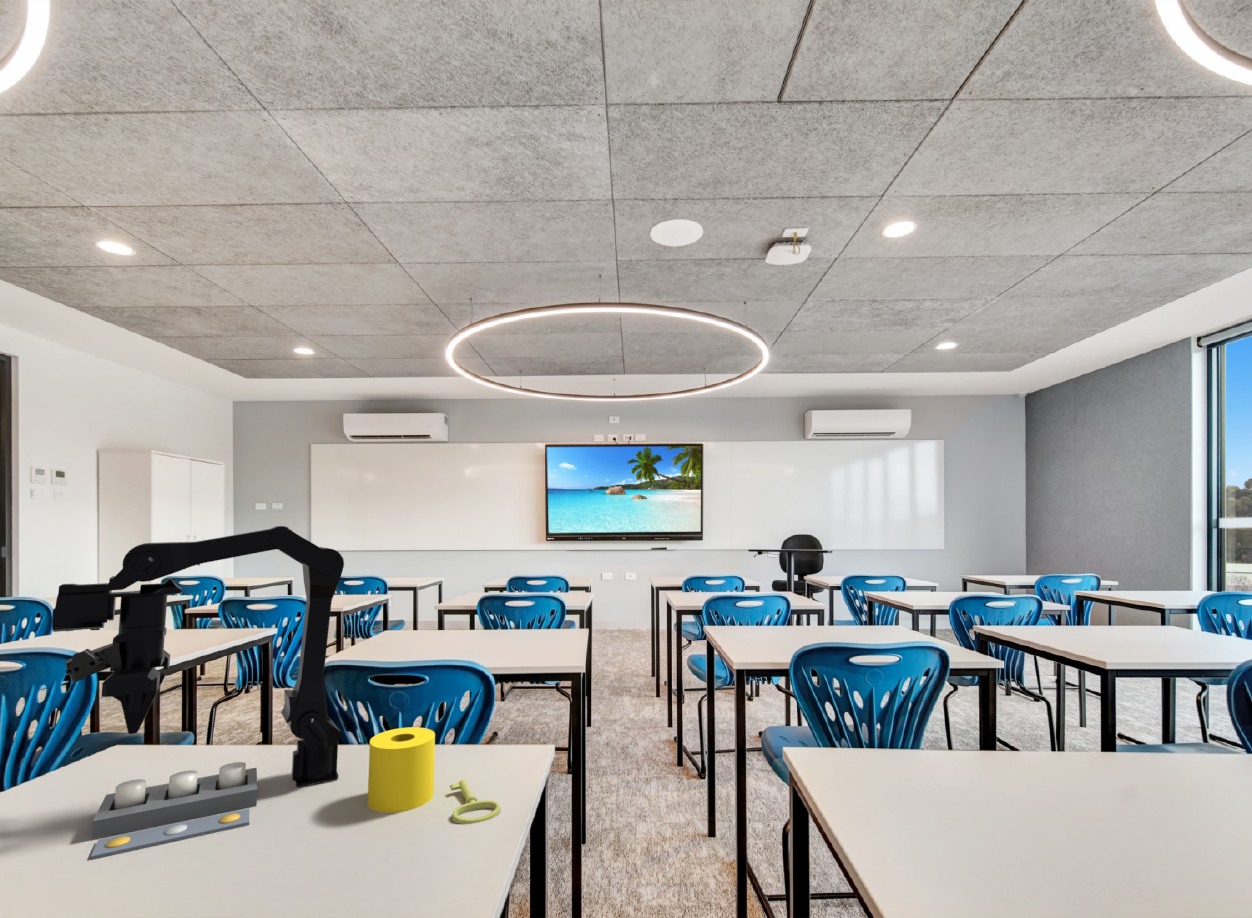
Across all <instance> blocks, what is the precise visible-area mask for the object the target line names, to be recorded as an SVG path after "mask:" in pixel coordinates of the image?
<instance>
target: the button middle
mask: <svg viewBox="0 0 1252 918" xmlns="http://www.w3.org/2000/svg"><path fill="white" fill-rule="evenodd" d="M198 773H199V772H198V771H197V770H183V771H179V772H176V773H173V774H172V775H170V776H169V781H168V783H169V792H168V799H174V798H180V797H185V796H190V795H195V794H196V791H197V778H198Z"/></svg>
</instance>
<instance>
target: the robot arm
mask: <svg viewBox="0 0 1252 918" xmlns="http://www.w3.org/2000/svg"><path fill="white" fill-rule="evenodd" d="M275 550H278V551H279V552H281V553H283V554H284V555H286V556H288V557H290V558H291V559H292V560H294V561H295V562H297V563H299V564H300V565H302V574H303V575H302V577H303V585H304V589H305V590H304V592H305V599H306V601H305V611H304V619H303V627H302V638H301V645H300V646H301V647H300V653H299V654H300V656H299V665H298V673H297V679H296V682H295V684H294V687H293V688H292V689H284V690H283V692H284V693H283V694H284V695H283V697H284V705H283V708H282V710H281V711H280V714H281V715H282V717H283V719H284V721H285V722H286V724H287V726H288V728H289V730H290V731H291V733H292V734H293V736H294V737H295V738H298V739H299V740H297V741H296V750H293V751H292V761H291V779H292V781H293V782H295V787H296V788H301V787H306V786H309V785H314V784H321V783H326V782H330V781H336V780H338V779H339V776H340V775H339V773H338V754H339V739H340V737H341V734H342V732H341V730H340V729H339V728H338V726H337V725H336V724H335V722H334V721H333V719H331V718H330V717H329V715H328V706H327V697H326V696H327V694H326V691H325V685H324V677H325V668H326V667H325V665H326V658H327V648H328V639H329V629H330V622H331V621H330V619H331V613H332V612H331V610H332V601H333V598H334V597H335V596H334V595H335V593H336V591H337V589H338V586H339V585H340V580H341V576H342V573H343V571H344V566H345V562H344V561H345V560H344V557H343V556H342V554H341V553H340V552H339V551H338V550H335V549H333V548H328V547H323V546H322V547H321V546H318V545H317V544H315V543H313V542H311V541H310V540H308V539H306V538H305V537H302V536H301V535H299V534H297V533H296V532H294V531H293V530H292V529H291V528H290V527H288V526H285V525H284V526H283V525H277V526H274V527H272V528H267V529H262V530H255V531H249V532H244V533H238V534H232V535H226V536H222V537H216V538H210V539H202V540H198V541H183V542H182V541H176V542H175V541H174V542H173V541H170V542H169V541H168V542H167V541H166V542H145V543H141V544H138V545H136V546H134V547H132V548H131V549H129V550H128V552H127V553H126V554H124V555H125V556H124V557H123V560H122V569H121V570H120V571H119V572H118V573H117V574H116V575H115V576H113V575H111V577H109V582H108V583H106V582H105V583H86V584H85V583H84V584H82V583H81V584H78V583H62V584H61V585H59V586H58V593H57V597H56V601H55V607H54V608H53V609H52V619H51V621H52V622H51V625H52V627H51V628H52V632H53V633H57V632H71V631H82V630H83V631H85V630H94V629H96V630H97V629H104V628H105V624H107V623H108V621H109V622H110V621H114V620H115V614H116V604H117V603H116V602H117V598H120V606H119V619H118V620H119V622H118V633H117V634H116V635H115V636H113V638H112V643H109V644H105V645H102V646H100V647H97V648H95V649H92V650H91V649H90V648H86V649H84V650H82V651H80V652H75V653H73V654H72V657H71V658H70V659H68V660H66V662H64V664H65V667H66V670H65V674H66V675H68V676H70V680H71V682H72V683H77V682H80V681H83V680H84V679H85V678H87V677H89V676H92V675H94V674H97V673H100V672H102V671H105V670H107V669H109V673H111V672H112V673H111V674H110V675H108V676H107V678H105V680H104V681H103V682H102V684H101V697H102V698H108V697H109V698H111V697H112V698H114V699H116V700H117V701H119V702H120V704H121V708H122V712H123V716H124V721H125V726H126V729H127V734H128V735H132V734H133V735H134V734H137V733H139V730H140V728H141V726H142V725H143V723H144V720H145V718H146V717H147V714H148V712H149V710H150V708H151V706H152V704H153V702H154V700H155V699H156V696H157V694H158V692H159V689H160V688H161V685H162V684H163V681H164V679H165V677H166V675H167V673H166V672H160V671H159V670H158V669H157V668H161V667H163V670H168V669H169V667H170V663H171V662H170V661H171V653H169V652H168V651H166V650H165V649H164V648H165V637H166V635H167V628H168V627H166V621H167V620H166V619H167V616H166V615H167V607H168V606H167V604H168V595H176V594H177V595H179V594H181V593H182V591H183V590H182V589H183V588H182V587H181V586H179V585H177V584H176V583H175V582H174V580H173V578H171V577H170V578H169V577H168V579H167V580H166V581H164V582H162V583H147V584H145V583H144V582H152V581H155V580H157V579H161V578H163V577H166V576H169V575H172V574H175V573H178V572H180V571H183V570H186V569H188V568H191V567H194V566H197V565H201V564H207V563H212V562H217V561H222V560H228V559H233V558H237V557H243V556H248V555H252V554H258V553H265V552H270V551H275ZM137 582H143V583H144V584H143V583H142V584H140V588H139V590H131V591H123V590H125V589H127V588H129V587H130V586H132V585H134V584H135V583H137ZM113 591H115V592H113ZM116 591H117V592H116Z"/></svg>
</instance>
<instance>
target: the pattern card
mask: <svg viewBox="0 0 1252 918" xmlns="http://www.w3.org/2000/svg"><path fill="white" fill-rule="evenodd" d="M249 825H250V808H243V809H238V810H234V811H229V812H224V813H219V814H214V815H209V816H205V817H200V818H195V819H190V820H185V821H180V822H176V823H171V824H166V825H161V826H156V827H152V828H147V829H142V830H137V831H132V832H128V833H123V834H118V835H113V836H108V837H104V838H99V839H97V841H96V844H95V846H94V849H93V850H92V852H91V855H90V860H95V859H100V858H103V857H107V856H114V855H117V854H122V853H126V852H131V851H132V852H133V851H135V850H136V851H137V850H140V849H144V848H149V847H150V848H151V847H154V846H157V845H162V844H167V843H173V842H177V841H180V840H185V839H190V838H194V837H199V836H203V835H204V836H205V835H208V834H213V833H214V834H215V833H216V832H217V833H218V832H222V831H227V830H231V829H235V828H236V829H237V828H240V827H245V826H249Z"/></svg>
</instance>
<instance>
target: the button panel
mask: <svg viewBox="0 0 1252 918" xmlns="http://www.w3.org/2000/svg"><path fill="white" fill-rule="evenodd" d="M218 786H219V773H218V774H214V775H213V774H212V775H207V776H203V777H197V791H196V794H195V795H190V796H185V797H180V798H174V799H168V792H169V782H168V783H164V784H157V785H153V786H147V787H146V790H145V802H144V804H142V805H138V806H132V807H127V808H122V809H117V810H114V803H115V792H113V793H108V794H106V795H105V796H104V798H103V801H102V802H101V804H100V806H99V807H98V809H97V812H96V814H95V816H94V817H93V820H92V823H91V824H92V825H91V826H92V827H91V838H90V839H91V841H93V840H99V839H104V838H109V837H114V836H119V835H124V834H128V833H133V832H138V831H143V830H148V829H152V828H157V827H162V826H167V825H172V824H177V823H181V822H186V821H191V820H196V819H201V818H206V817H210V816H215V815H220V814H225V813H230V812H234V811H239V810H244V809H249V808H253V807H256V806H257V803H258V768H257V767H253V768H252V767H251V768H247V769H245V784H244V785H243V786H237V787H232V788H227V789H222V790H219V789H218Z"/></svg>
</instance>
